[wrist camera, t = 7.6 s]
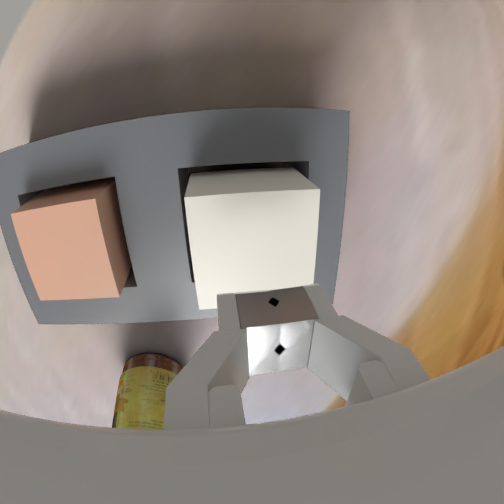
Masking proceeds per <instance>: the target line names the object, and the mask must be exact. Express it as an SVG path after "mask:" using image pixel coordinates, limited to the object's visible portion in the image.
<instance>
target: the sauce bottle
mask: <svg viewBox="0 0 504 504" xmlns="http://www.w3.org/2000/svg"><path fill="white" fill-rule="evenodd" d="M182 369H183V368H182V367H181V366H180V365H179V364H178V363H177V362H175V361H173V360H172V359H171V358H169V357H166V356H163V355H159V354H149V353H146V354H140V355H136V356H133V357H131V358H130V359H129V360H128V361H127V362H126V363H125V366H124V368H123V373H122V375H121V377H120V380H119V386H118V391H117V398H116V404H115V410H114V417H113V423H112V428H124V429H164V415H165V399H166V387H167V386H168V385H169V384H170V383H171V382H172V380H173V379H174V378H175V377H176V376H177V375H178V373H179V372H180V371H181V370H182Z"/></svg>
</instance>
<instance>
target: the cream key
mask: <svg viewBox="0 0 504 504" xmlns="http://www.w3.org/2000/svg"><path fill="white" fill-rule="evenodd" d="M184 200H185V209H186V218H187V226H188V235H189V243H190V250H191V258H192V265H193V272H194V279H195V286H196V293H197V299H198V305H199V310H204V309H216V308H217V294H223V293H235V292H248V291H260V290H275V289H283V288H291V287H299V286H303V285H310V284H313V282H314V272H315V260H316V248H317V235H318V220H319V203H320V189H319V188H318V187H317V186H316V185H314V184H313V183H312V182H311V181H310V180H308V179H307V178H306V177H305V176H303V175H302V174H301V173H300V172H298V171H297V170H296V169H295V168H293V167H288V168H261V169H242V170H226V171H212V172H200V173H191V175H190V178H189V182H188V185H187V189H186V193H185V197H184Z"/></svg>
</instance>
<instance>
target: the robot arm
mask: <svg viewBox="0 0 504 504" xmlns="http://www.w3.org/2000/svg"><path fill="white" fill-rule="evenodd" d="M217 310H218V323H219V331H215V332H213V333H212V334H211V336H210V337H209V338H208V339H207V340H206V342H205V343H204V344H203V345H202V346H201V348H200V349H199V350H198V351H197V352H196V353H195V355H194V356H193V357H192V358H191V359H190V360H189V362H188V363H187V364H186V365H185V366H184V368H183V369H182V370H181V371H180V372H179V373H178V375H177V376H176V377H175V378H174V379H173V380H172V382H171V383H170V384H169V385H168V386H167V387H166V399H165V415H164V429H124V428H108V427H97V426H87V425H78V424H71V423H63V422H57V421H51V420H45V419H40V418H34V417H29V416H25V415H20V414H16V413H12V412H7V411H3V410H0V504H504V346H503V347H501V348H499V349H497V350H495V351H493V352H491V353H489V354H487V355H485V356H483V357H481V358H479V359H477V360H475V361H473V362H471V363H468V364H466V365H464V366H462V367H460V368H457V369H455V370H453V371H450V372H448V373H446V374H443V375H441V376H438V377H436V378H433V379H430V377H429V376H428V374H427V373H426V371H425V370H424V368H423V367H422V365H421V364H420V362H419V361H418V359H417V358H416V357H415V355H414V354H413V352H412V351H411V349H409V348H407V347H405V346H403V345H401V344H399V343H397V342H395V341H393V340H391V339H389V338H387V337H385V336H383V335H381V334H379V333H377V332H375V331H373V330H371V329H369V328H367V327H365V326H363V325H361V324H359V323H357V322H355V321H353V320H351V319H349V318H347V317H345V316H344V315H342V316H338V314H337V312H336V311H335V309H334V307H333V306H332V304H331V302H330V301H329V299H328V297H327V295H326V294H325V292H324V290H323V289H322V287H321V285H320V284H318V283H316V284H310V285H303V286H299V287H291V288H283V289H275V290H260V291H248V292H235V293H223V294H217ZM301 368H308V370H310V371H311V372H312V373H313V374H314V375H316V376H317V377H318V378H319V379H320V380H322V381H323V382H324V383H325V384H327V385H328V386H329V387H330V388H331V389H333V390H334V391H335V392H336V393H338V394H339V395H340V396H341V397H343V398H344V399H345V400H346V401H347V402H346V404H345V407H342V408H338V409H334V410H329V411H325V412H320V413H315V414H311V415H306V416H300V417H295V418H289V419H283V420H277V421H270V422H263V423H256V424H247V425H246V423H245V417H244V411H243V405H242V399H241V393H242V391H243V389H244V387H245V385H246V383H247V381H248V380H249V378H250V377H249V376H252V375H259V374H266V373H272V372H278V371H286V370H293V369H301Z"/></svg>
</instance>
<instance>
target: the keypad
mask: <svg viewBox="0 0 504 504" xmlns="http://www.w3.org/2000/svg"><path fill="white" fill-rule="evenodd" d="M349 114H350V111H343V110H332V109H319V108H292V107H257V108H228V109H212V110H199V111H188V112H178V113H170V114H162V115H154V116H147V117H140V118H134V119H128V120H122V121H117V122H111V123H106V124H101V125H96V126H92V127H87V128H83V129H79V130H74V131H70V132H66V133H62V134H59V135H55V136H51V137H48V138H44V139H41V140H37V141H34V142H31V143H27V144H24V145H21V146H18V147H16V148H13V149H10V150H7V151H4V152H2V153H0V225H1V229H2V232H3V236H4V239H5V242H6V245H7V248H8V251H9V254H10V257H11V260H12V262H13V265H14V268H15V271H16V273H17V276H18V278H19V281H20V283H21V286H22V288H23V291H24V293H25V295H26V298H27V300H28V302H29V304H30V307H31V309H32V311H33V313H34V315H35V317H36V319H37V322H38V324H116V323H142V322H162V321H178V320H193V319H206V318H218V310H217V308H216V309H204V310H199V305H198V299H197V293H196V286H195V279H194V272H193V265H192V258H191V250H190V243H189V235H188V226H187V218H186V209H185V200H184V197H185V193H186V189H187V185H188V182H189V180H188V169H187V167H198V166H210V165H224V164H239V163H259V162H284V168H288V167H293V168H295V169H296V170H297V171H298V172H300V173H301V174H302V175H303V176H305V177H306V178H307V179H308V180H310V181H311V182H312V183H313V184H314V185H316V186H317V187H318V188H319V189H320V203H319V220H318V235H317V248H316V260H315V272H314V282H313V284H316V283H318V284H320V285H321V287H322V289H323V290H324V292H325V294H326V295H327V297H328V299H329V301H330V302H331V304H333V299H334V292H335V285H336V278H337V271H338V263H339V255H340V247H341V238H342V228H343V218H344V207H345V196H346V182H347V166H348V147H349ZM114 176H115V181H116V187H117V194H118V200H119V205H120V211H121V216H122V221H123V227H124V232H125V236H126V241H127V246H128V250H129V255H130V259H131V263H132V267H131V270H130V272H129V275H128V277H127V280H126V282H125V285H124V287H123V290H122V293H121V295H120V297H114V298H94V299H71V300H42V301H40V298H39V296H38V294H37V291H36V289H35V286H34V284H33V281H32V279H31V276H30V273H29V271H28V268H27V265H26V262H25V260H24V257H23V254H22V251H21V248H20V244H19V241H18V238H17V235H16V231H15V228H14V224H13V221H12V217H11V213H13V212H14V211H15V210H17V209H18V208H20V207H21V206H22V205H24V204H25V203H27V202H28V201H30V200H31V199H32V198H34V197H35V196H37V195H38V194H40V193H41V192H43V191H45V190H46V189H51V188H56V187H59V186H63V185H68V184H73V183H78V182H84V181H90V180H95V179H102V178H108V177H114Z"/></svg>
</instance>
